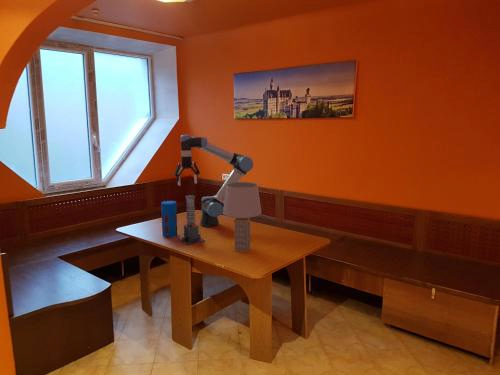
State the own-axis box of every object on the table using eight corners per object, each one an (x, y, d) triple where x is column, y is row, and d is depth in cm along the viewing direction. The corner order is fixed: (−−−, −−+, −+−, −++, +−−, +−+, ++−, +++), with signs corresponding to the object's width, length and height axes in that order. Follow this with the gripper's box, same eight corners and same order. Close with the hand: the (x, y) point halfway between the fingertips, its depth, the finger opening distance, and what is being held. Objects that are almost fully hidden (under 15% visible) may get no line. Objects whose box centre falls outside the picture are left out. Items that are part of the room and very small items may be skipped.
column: (192, 226, 278) (192, 195, 274) (196, 228, 274) (195, 196, 270) (186, 227, 276) (185, 196, 271) (189, 229, 271) (188, 197, 267)
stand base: (196, 236, 286) (195, 219, 284) (204, 241, 275) (204, 223, 272) (178, 239, 278) (177, 222, 276) (186, 245, 267) (185, 226, 265)
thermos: (174, 238, 282) (172, 204, 278) (160, 237, 284) (158, 203, 280) (179, 233, 293) (178, 201, 288) (166, 232, 295) (164, 200, 290)
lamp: (264, 244, 267) (265, 182, 259) (257, 257, 243) (257, 188, 235) (229, 242, 272) (228, 180, 264) (218, 254, 248) (217, 187, 240)
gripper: (199, 154, 298) (200, 181, 302) (168, 156, 284) (169, 185, 288) (203, 155, 292) (204, 183, 296) (172, 157, 278) (174, 186, 282)
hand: (187, 184), depth 292 cm, fingers open, 13 cm apart
